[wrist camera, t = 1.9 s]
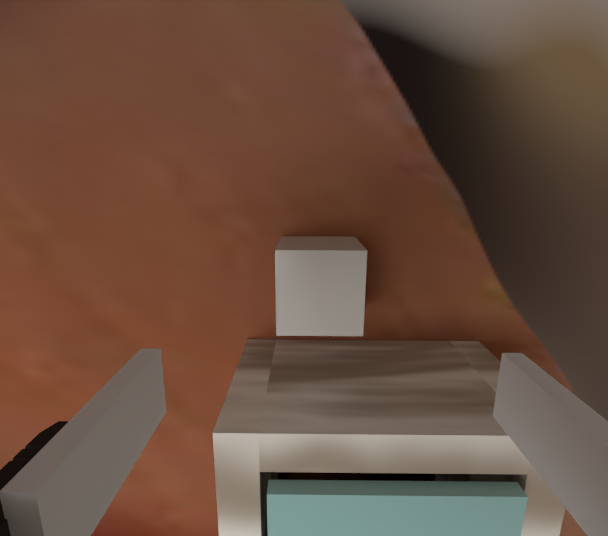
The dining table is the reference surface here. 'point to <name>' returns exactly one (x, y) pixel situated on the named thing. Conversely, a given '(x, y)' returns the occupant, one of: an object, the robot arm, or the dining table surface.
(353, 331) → the light grey cube
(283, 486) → the trapdoor
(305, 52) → the dining table surface
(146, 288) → the dining table surface
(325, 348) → the crate
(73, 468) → the robot arm
